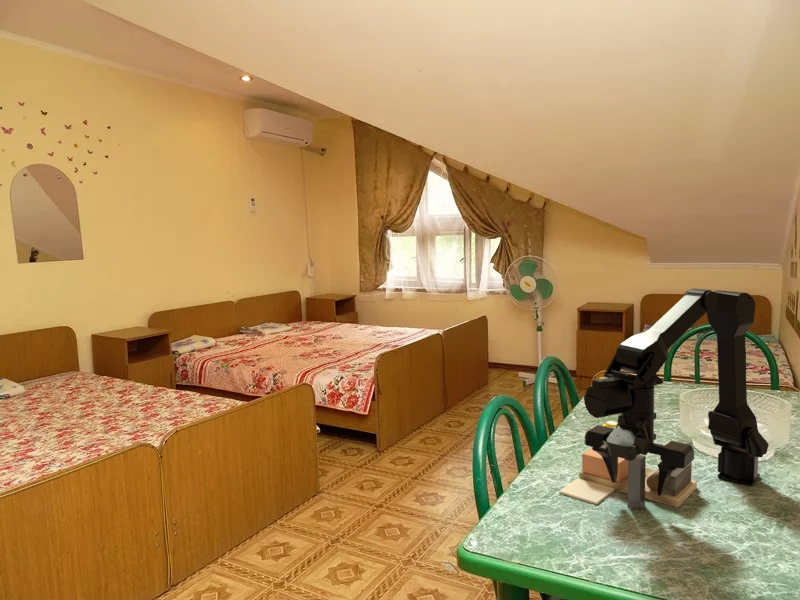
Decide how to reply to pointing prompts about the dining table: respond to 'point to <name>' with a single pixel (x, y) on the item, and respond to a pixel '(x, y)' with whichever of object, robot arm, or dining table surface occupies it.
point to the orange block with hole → (602, 465)
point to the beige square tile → (587, 491)
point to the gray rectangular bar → (636, 483)
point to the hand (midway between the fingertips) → (636, 488)
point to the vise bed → (647, 490)
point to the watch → (610, 424)
